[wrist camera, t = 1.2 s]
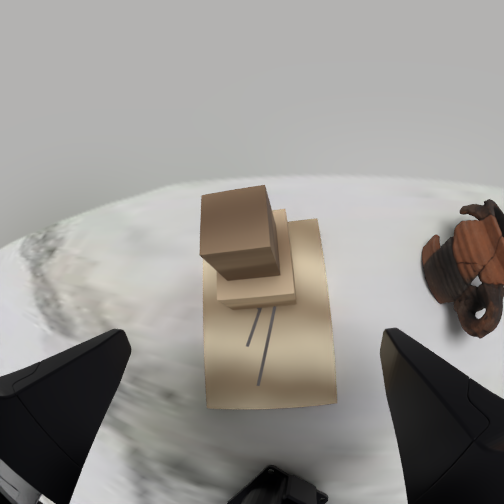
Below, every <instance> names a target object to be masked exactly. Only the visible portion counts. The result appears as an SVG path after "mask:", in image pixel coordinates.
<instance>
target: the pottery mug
mask: <svg viewBox="0 0 504 504" xmlns="http://www.w3.org/2000/svg"><path fill="white" fill-rule="evenodd" d="M460 214H462V215H464V214H469V215H472V216H474V217H475V218H476V219H478V220H479V221H478V220H473V221H471V220H468V221H461V222H460V223H459V224H458V225H457V226H456V228H455V230H454V236H453V237H450V238H449V239H448V240H447V241H446V242H445V244H443V245H442V246H441V248H440V241H439V238H440V237H439V236H438V235H434V236H433V237H432V238H431V239H430V240H429V242H428V243H427V244H426V245H425V246H424V247H423V251H422V260H423V268H424V272H425V278H426V280H427V282H428V286H429V288H430V290H431V292H432V294H433V295H434V297H435V298H436V300H437V301H438V302H439V303H440V304H442V303H446V302H447V303H450V302H454V310H455V311H456V312H457V314H458V318H459V321H460V323H461V326H462V328H463V329H464V330H465V332H467V333H468V334H469V335H471V336H474V337H479V338H483V337H484V336H485V335H487V334H489V333H490V332H492V331H493V330H494V329H495V328H496V327H497V325H498V324H499V322H500V319H501V316H502V310H503V297H504V287H503V286H504V214H503V212H502V211H501V209H500V208H499V207H498V206H497V204H496V203H495V202H494V201H493V200H490V199H489V200H487V201H484V205H478V204H471V205H468V206H463V207H462V208H461V210H460ZM477 275H478V277H479V279H480V281H481V282H482V284H481V285H480V286H479V287H476V286H473V285H471V282H472V281H473V280H474V279H475V278H476V277H477ZM484 308H486V312H485V314H484V315H483V316H482V317H481V318H480V319H477V318H476V317H475V313H476V312H478V311H481V310H482V309H484Z"/></svg>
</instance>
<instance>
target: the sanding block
mask: <svg viewBox="0 0 504 504" xmlns="http://www.w3.org/2000/svg"><path fill="white" fill-rule="evenodd" d="M200 256H201V257H202V258H203V259H204V260H205V261H206V262H208V263H209V264H210V265H211V266H212V267H213V268H214V269H215V270H216V271H217V301H219V302H220V303H222V304H224V305H225V306H227V307H229V308H230V309H232V310H238V309H251V308H263V307H274V306H284V305H294V304H297V301H296V290H295V280H294V270H293V260H292V251H291V242H290V233H289V227H288V222H287V216H286V211H285V209H280V210H272V209H271V205H270V202H269V198H268V194H267V191H266V187H265V185H261V186H255V187H248V188H242V189H235V190H229V191H224V192H218V193H212V194H207V195H202V199H201V224H200Z"/></svg>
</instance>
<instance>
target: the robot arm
mask: <svg viewBox="0 0 504 504" xmlns="http://www.w3.org/2000/svg"><path fill="white" fill-rule="evenodd" d="M130 354H131V346H130V343H129V341H128V338H127V336H126V333H125V332H124V330H122V329H112V330H110V331H108V332H105V333H103V334H101V335H99V336H96V337H94V338H92V339H90V340H88V341H85V342H83V343H81V344H79V345H76V346H74V347H72V348H70V349H67V350H65V351H63V352H61V353H58V354H56V355H54V356H51V357H49V358H47V359H45V360H42V361H41V362H38V363H35V364H33V365H31V366H28V367H26V368H23V369H21V370H18V371H15V372H13V373H10V374H7V375H4V376H1V377H0V504H43V503H42V502H40V501H39V499H40V497H41V496H42V494H43V495H44V496H45V497H47V498H48V499H50V500H51V501H53V502H54V503H56V504H69V503H70V500H71V498H72V495H73V492H74V489H75V487H76V484H77V481H78V479H79V476H80V473H81V471H82V468H83V465H84V463H85V460H86V458H87V456H88V453H89V451H90V448H91V446H92V444H93V441H94V439H95V437H96V434H97V432H98V430H99V427H100V425H101V423H102V421H103V418H104V416H105V414H106V412H107V410H108V408H109V405H110V403H111V401H112V399H113V397H114V395H115V393H116V391H117V388H118V386H119V384H120V381H121V379H122V376H123V373H124V370H125V368H126V365H127V362H128V360H129V357H130ZM380 358H381V364H382V370H383V376H384V383H385V390H386V396H387V401H388V404H389V408H390V412H391V416H392V421H393V425H394V429H395V434H396V438H397V443H398V448H399V453H400V458H401V463H402V468H403V474H404V480H405V486H406V493H407V500H408V504H504V399H503V398H501V397H499V396H497V395H496V394H494V393H492V392H491V391H489V390H488V389H486V388H485V387H483V386H482V385H480V384H478V383H477V382H476V381H474V380H473V379H471V378H470V379H469V377H468V376H467V375H465V374H464V373H463V372H461V371H460V370H458V369H457V368H455V367H454V366H452V365H451V364H450V363H448V362H447V361H445V360H444V359H442V358H441V357H439V356H438V355H436V354H435V353H433V352H432V351H430V350H429V349H428V348H426V347H425V346H423V345H422V344H420V343H419V342H417V341H416V340H414V339H413V338H411V337H410V336H408V335H407V334H405V333H404V332H402V331H401V330H399V329H398V328H389V329H385V330H384V332H383V337H382V342H381V348H380ZM269 469H272V470H273V471H274V472H269V471H268V470H269ZM321 498H325V499H324V500H320V499H321ZM327 501H328V496H327V495H326V494H324V493H322V492H320V491H318V490H316V487H315V486H313V485H311V484H309V483H308V482H306V481H304V480H302V479H300V478H298V477H297V476H295V475H289V474H287V473H285V472H284V471H282V470H280V469H279V468H277V467H275V466H273V465H269V466H267V467H266V468H265V469H264V470H263V471H262V472H261V473H260V474H259V475H258V476H257V477H255V478H254V479H253V480H252V481H251V482H250V483H249V484H248V485H247V486H246V487H244V488H243V489H242V490H241V491H240V492H239V493H238V494H236V495H235V496H234V497H233V498H232V499H231V500H229V501H228V503H227V504H325V503H326V502H327Z"/></svg>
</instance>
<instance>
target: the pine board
mask: <svg viewBox="0 0 504 504" xmlns="http://www.w3.org/2000/svg"><path fill="white" fill-rule="evenodd" d="M288 227H289V233H290V242H291V251H292V260H293V270H294V280H295V290H296V301H297V304H294V305H284V306H274V307H263V308H251V309H238V310H232V309H230V308H229V307H227V306H225V305H224V304H222V303H220V302H219V301H217V271H216V270H215V269H214V268H213V267H212V266H211V265H210V264H209V263H208V262H206V261H205V260H204V259H203V330H204V362H205V384H206V402H207V408H210V409H279V408H295V407H308V406H318V405H326V404H334V403H337V389H336V371H335V357H334V344H333V333H332V323H331V313H330V304H329V295H328V287H327V279H326V272H325V264H324V257H323V251H322V244H321V238H320V232H319V226H318V220H317V219H308V220H300V221H291V222H288Z"/></svg>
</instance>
